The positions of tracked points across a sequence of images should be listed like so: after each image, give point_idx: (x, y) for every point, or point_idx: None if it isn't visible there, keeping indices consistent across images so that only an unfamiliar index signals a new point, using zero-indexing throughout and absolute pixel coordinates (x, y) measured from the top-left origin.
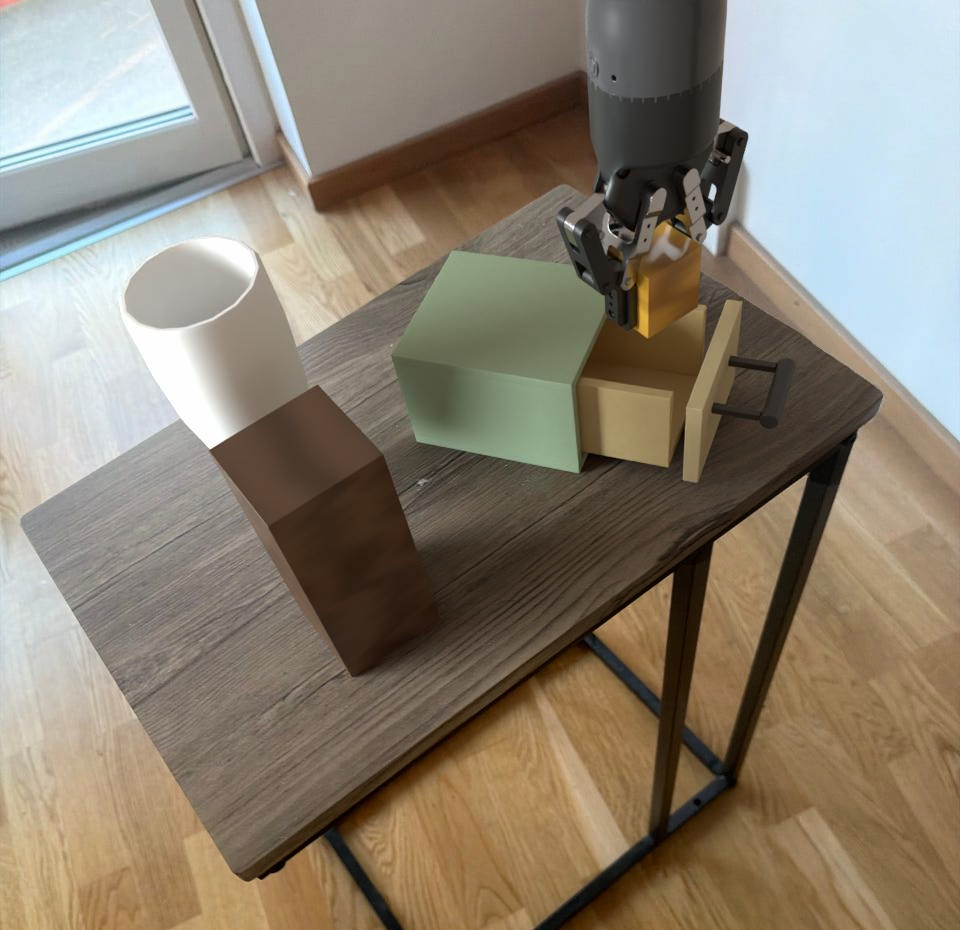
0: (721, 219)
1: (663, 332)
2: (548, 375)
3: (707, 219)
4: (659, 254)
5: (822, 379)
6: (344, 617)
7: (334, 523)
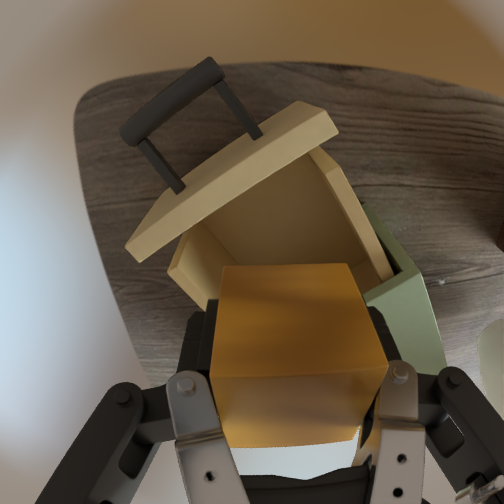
0: (125, 393)
1: (218, 278)
2: (420, 300)
3: (151, 408)
4: (306, 401)
5: (90, 143)
6: None
7: None
